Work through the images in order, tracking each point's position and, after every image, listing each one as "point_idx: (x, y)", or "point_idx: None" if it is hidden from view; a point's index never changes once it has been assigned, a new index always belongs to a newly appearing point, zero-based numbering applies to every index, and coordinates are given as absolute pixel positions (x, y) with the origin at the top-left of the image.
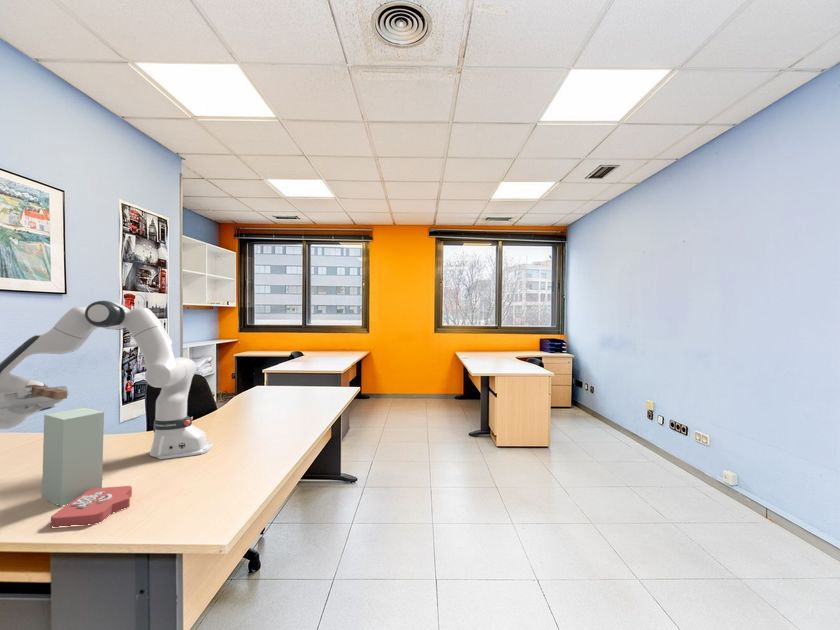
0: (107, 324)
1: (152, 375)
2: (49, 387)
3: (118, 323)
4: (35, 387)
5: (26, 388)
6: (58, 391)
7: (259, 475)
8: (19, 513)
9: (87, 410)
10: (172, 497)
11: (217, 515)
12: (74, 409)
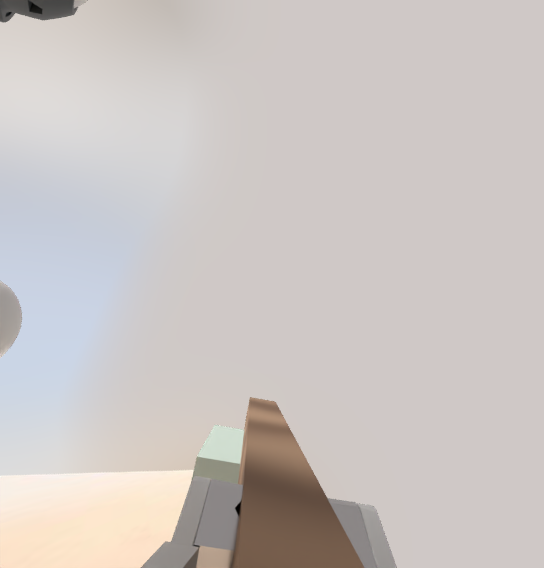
0: (30, 4)
1: (16, 331)
2: (247, 431)
3: (4, 18)
4: (307, 469)
5: (374, 515)
6: (268, 402)
7: (72, 488)
8: None
9: (218, 441)
10: (158, 537)
11: (189, 484)
12: (225, 460)
